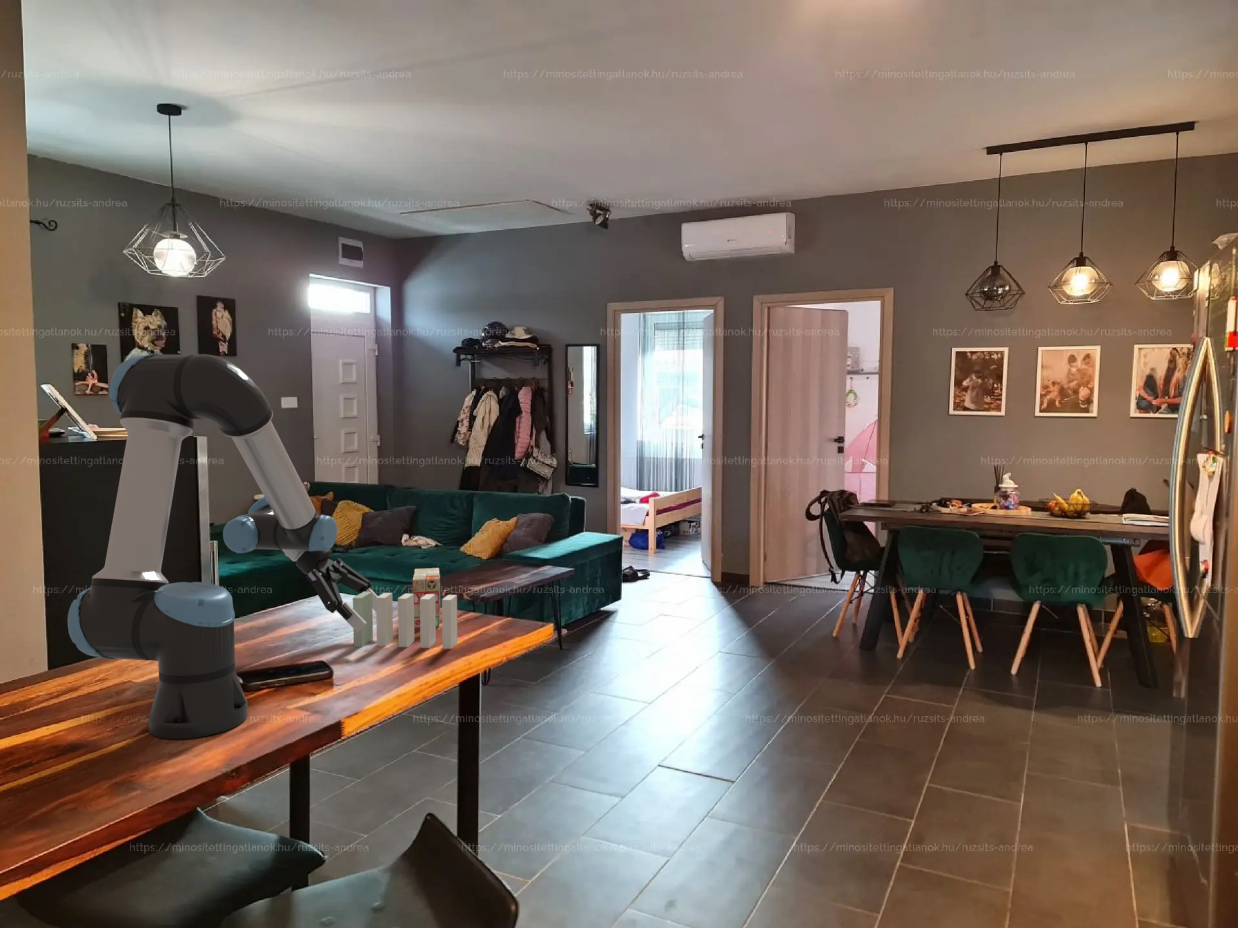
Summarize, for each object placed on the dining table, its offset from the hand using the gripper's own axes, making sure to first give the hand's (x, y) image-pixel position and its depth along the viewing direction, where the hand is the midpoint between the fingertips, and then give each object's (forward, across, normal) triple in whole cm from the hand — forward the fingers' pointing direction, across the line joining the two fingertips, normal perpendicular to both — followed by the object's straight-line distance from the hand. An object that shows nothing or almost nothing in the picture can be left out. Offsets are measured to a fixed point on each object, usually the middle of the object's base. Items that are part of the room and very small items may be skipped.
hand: (373, 619), depth 188 cm
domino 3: (+13, 0, +5) cm, 14 cm away
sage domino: (+2, 0, -6) cm, 6 cm away
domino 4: (+16, 0, +9) cm, 18 cm away
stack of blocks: (+7, -23, -1) cm, 24 cm away
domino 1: (+6, 0, -2) cm, 6 cm away
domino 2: (+9, 0, +2) cm, 9 cm away
